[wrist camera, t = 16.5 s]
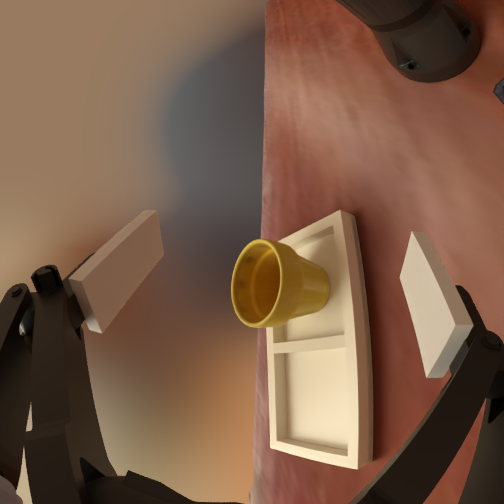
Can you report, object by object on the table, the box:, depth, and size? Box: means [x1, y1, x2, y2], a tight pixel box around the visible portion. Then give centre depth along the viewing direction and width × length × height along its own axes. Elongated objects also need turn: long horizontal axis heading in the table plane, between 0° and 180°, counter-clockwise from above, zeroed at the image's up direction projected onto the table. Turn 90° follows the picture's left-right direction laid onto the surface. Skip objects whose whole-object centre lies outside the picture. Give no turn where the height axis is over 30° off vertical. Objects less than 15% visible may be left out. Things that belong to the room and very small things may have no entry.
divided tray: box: [266, 210, 373, 469], centre depth 38 cm, size 31×16×3 cm, turn 4°
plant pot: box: [231, 239, 330, 328], centre depth 38 cm, size 10×10×10 cm
